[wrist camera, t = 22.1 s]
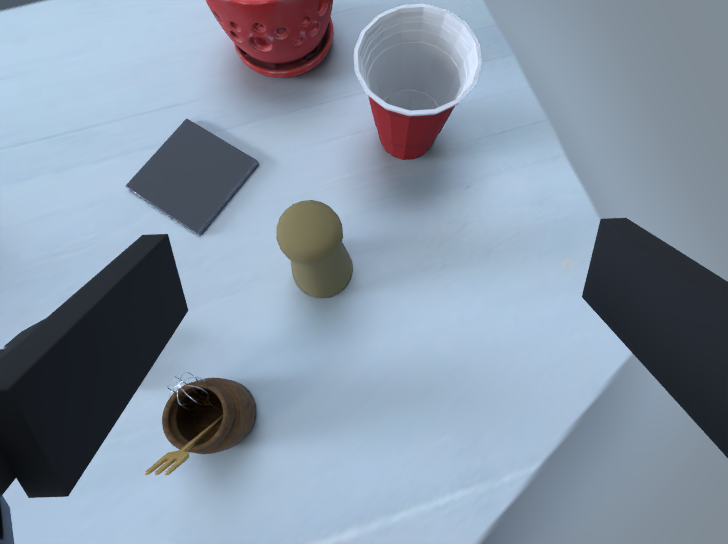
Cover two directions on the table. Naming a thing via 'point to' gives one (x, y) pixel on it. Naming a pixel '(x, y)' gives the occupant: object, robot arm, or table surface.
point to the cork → (315, 248)
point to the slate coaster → (192, 176)
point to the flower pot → (277, 33)
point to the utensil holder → (205, 419)
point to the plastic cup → (415, 73)
